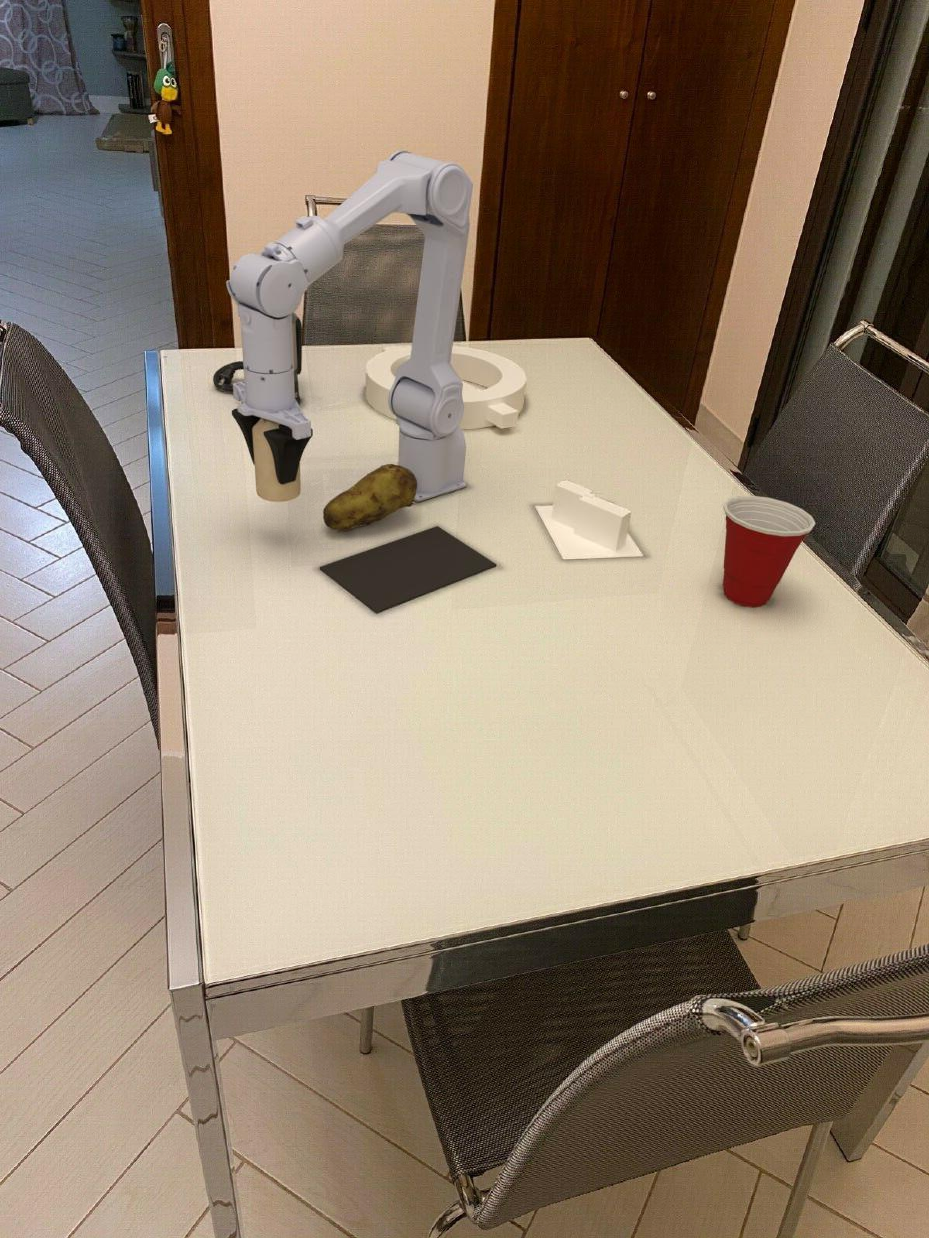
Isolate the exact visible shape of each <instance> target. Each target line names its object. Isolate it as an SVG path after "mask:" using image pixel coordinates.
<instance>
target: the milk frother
mask: <svg viewBox="0 0 929 1238" xmlns="http://www.w3.org/2000/svg"><path fill="white" fill-rule="evenodd" d="M292 332H293V360H294V389H295V399H296V401H297V403H298V404H299V405H301V402H302V401H301V396H300V390H299V389H300V387H299V375H301V373H302V370H303V369H302V367H303V365H302V364H303V323H302V321H301V319H300V317H299V316H298V315H297V313H296V312H293V313H292ZM240 370H241V371H242V370H243V371H244V365H243V360H239V361H234V362H230V363H228V364H227V363H226V364H224V365H223V366H222V367H220V368H218V369H217V370H216V371H215V372H214V374H213V376H212V382H213V385H214V386H215V388H217V389H219V390H221V391H224V392H228V393H233V384H232V382H233V381H232V380H233V379H234V375H235V374H236V371H240Z"/></svg>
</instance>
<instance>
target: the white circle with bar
mask: <svg viewBox="0 0 929 1238" xmlns="http://www.w3.org/2000/svg"><path fill="white" fill-rule="evenodd" d="M411 349H412V345H406V346H405V345H404V346H399V345H397V344H396V345H391V346H385V347H384V346H383V347H381V352H379V353H378V354H376V355H374V356H373V357H371V358H370V359H369V360H368V361H367V363H366V365H365V399H366V402H367V403H368V404H369V406H371V407H372V409H374V410H375V411H376V412H378V413H379V414H382V415H383V416H386V417H388V418H390V419H393V420H395V421H396V416H395V415H394V414H393V413H392V412H391V411H390V409H389V405H388V397H389V392H390V389H391V387H392V385H393V383H394V381H395V377H396V370H397V367H398V366H399V365H401V364H402V363H404V362H405V361H407V360H408V359H410V357H411ZM450 363H451V365H452V367H453V368H454V370H455V372H456V373H457V375H458V376H459V378H460V379H461V381H462V383H463V388H462V399H463V403H464V412H463V417H462V420H461V422H460V424H459V427H460V428H461V430H473V429H481V428H482V429H483V428H490V427H493V426H496V427H497V428H499V429H507V428H509V427H510V428H511V427H515V426H518V420H519V414H520V413H521V412H522V410H523V408H524V403H525V396H526V395H525V394H526V383H527V374H526V372H525V370H524V369H523V368H522V367H521V366H519V365H518V364H517V363H516V362H514V361H512V360H511V359H509V358H506V357H504V356H502V355H499V354H497V353H493V352H490V351H486V350H483V349H478V348H475V347H474V348H473V347H468V346H460V345H453V347H452V354H451V361H450ZM467 382H470V383H474V384H477V385H480V386H483V387H484V389H483V388H482V389H478V388H476V387H475V386H474V385H471V384H469V383H467Z"/></svg>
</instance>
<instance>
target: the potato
mask: <svg viewBox="0 0 929 1238" xmlns="http://www.w3.org/2000/svg"><path fill="white" fill-rule="evenodd" d="M416 490H417V480H416V477H415V476H414V474H413V473H412V472H411V471H410V470H409V469H407V468H404V467H402V466H400V465H398V464H394V463H387V464H383V465H380V466H379V467H377V468H376V469H374V470H372V471H370V472H369V473H367V474H366V475H365V476H363V477H362V478H360V480H358V481H357V482H355V484H353V485H352V486H350V488H348V489H347V490H344V491H342V492H341V493H338V495H336V496H335V497H333V498H332V499H331V500H329V501H328V502H327V504H326V505H325V506H324V508H323V510H322V518H323V522H324V525H325V526H326V527H327V528H329V529H330V530H333V531H336V532H346V531H350V530H352V529H353V528H358V527H363V526H369V525H371V524H373V523H376V522H378V521H379V522H380V521H381V520H383V519H385V518H386V517H388V516H390V515H392V514H393V513H395V512H397V511H399V510H401V509H404V508H411V507H412V506H413V505H414V504H415V503H414V500H413V499H414V498H415V495H416Z"/></svg>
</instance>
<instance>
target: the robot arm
mask: <svg viewBox="0 0 929 1238" xmlns="http://www.w3.org/2000/svg"><path fill="white" fill-rule="evenodd" d="M473 188H474V183H473V181H472V180H471V178H470V177H469V176H468V174H467V172H466V171H465V169H464V168H463V167H462V166H461V165H460V164H459V163H457V162H454V161H444V160H440V159H436V158H432V157H428V156H424V155H419V154H415V153H412V152H411V151H408V150H404V149H403V150H402V149H400V150H397V151H394V152H393V153H391V154H390V155H389V156H388V158H387V159H384V160H381V161H380V162H378V163H377V166H376V169H375V174H374V175H373V176H372V177H370V178H369V179H368V180H367V181H365V183H363V185H361V186H360V187H359V188H358V189H357V190H356V191H355V192H353V193H352V194H351V195H350V196H349V197H347V198H346V200H344V201H343V202H341V204H339V206H338V207H336V208H334V210H333V211H331V213H329V214H328V215H327V216H326V217H325V218H323V217H321V216H318V215H309V216H308V217H307V216H305V215H302V216H300V217H298V219H296V220H295V226H294V227H293V228H291V230H289V231H288V232H286V233H285V234H284V235H282V236H281V237H280V238H278V239H277V240H276V241H274V242H273V241H270V242H269V243H267V244H265V246H264V249H263V250H262V251H261V253H258V252H254V253H252V252H249V253H246V254H244V255H243V256H241V257H240V258H238V260H237V261H236V262H235V264H234V265H233V267H232V268H231V272H230V277H229V280H226V281H225V285H226V289H227V292H228V295H229V296H230V298H231V299H232V300H233V301H234V302H235V304H236V307H237V316H238V317H239V320H240V335H241V337H240V338H241V349H242V350H241V351H242V361H243V365H244V370H243V379H244V380H243V381H239V382H233V383H232V385H233V392H232V393H233V399H234V400H236V401H238V402H241V404H238V405H237V406H236V408H234V409H233V408H232V410H231V416H232V417H233V419H234V420H235V422H236V423H237V425H238V428H239V429H240V431H241V433H242V435H243V439H244V440H245V444H246V447H247V450H248V453H249V455H250V459H251V462H252V464H253V465H254V466H255V463H254V447H253V431H252V429H253V427H254V425H255V424H256V423H257V422H258V421H259V420H260V419H261V418H264V419H267V420H270V421H273V422H276V423H279V429H278V428H277V429H272V430H268V431H264V432H263V434H264V436H265V438H266V440H267V442H268V444H269V446H270V448H271V451H272V455H273V459H274V465H275V471H276V476H277V480H278V482H279V483H280V484H282V485H283V484H286V483H290V482H293V481H295V480H296V476H297V472H298V468H299V464H300V465H301V460H302V456H303V454H304V452H305V449H306V447H307V445H308V443H309V442H310V441H311V439H312V437H313V436H314V429H313V428H312V421H311V420H310V419H309V418H308V417H306V415H305V413H304V411H303V410H302V408H301V406H300V404H298V403H297V401H296V399H295V389H294V360H293V332H292V313H293V312H294V313H296V311H297V310H298V308H299V306H300V304H301V302H302V300H303V296H304V294H305V292H306V291H308V289H309V287H310V285H312V284H313V283H314V282H316V281H317V280H319V279H320V278H321V277H322V276H323V275H324V274H326V273H327V272H328V271H330V270H331V269H332V268H334V267H335V266H336V265H337V264H339V263H340V262H341V261H342V259H343V256H344V249H345V245H346V244H348V243H349V242H351V241H352V240H354V239H355V238H357V237H358V236H360V235H361V234H362V233H364V232H367V230H369V229H370V228H372V227H374V226H375V225H377V224H378V223H380V222H381V221H382V220H384V219H386V218H388V217H389V216H390V215H392V214H394V213H396V214H397V213H398V214H405V215H407V216H408V217H410V219H411V220H412V222H413V223H414V224H415V225H416V226H417V228H418V230H419V231H420V232H421V233H422V235H423V236H424V243H423V252H422V253H423V254H422V260H421V268H420V275H419V276H420V277H419V284H418V291H417V301H416V302H417V303H416V308H415V315H414V326H413V332H412V333H413V334H412V341H411V346H412V349H411V357H410V359H408V360H407V361H405V362H404V363H402V364H401V365H399V366H398V367H397V370H396V377H395V381H394V383H393V385H392V387H391V389H390V392H389V397H388V405H389V409H390V411H391V412H392V413H393V414H394V415H395V416H396V420H395V424H396V425H397V426H398V428H399V430H398V454H397V455H398V456H397V457H398V459H397V465H400V466H402V467H404V468H407V469H409V470H410V471H411V472H412V473H413V474H414V476H415V477H416V480H417V490H416V495H415V498H414V499H413V501H415V502H417V503H419V502H422V501H425V500H428V499H432V498H435V497H438V496H440V495H444V494H447V493H450V492H453V491H456V490H460V489H462V488H466V487H467V486H468V483H467V482H466V481H465V480H464V479H465V466H466V465H465V463H466V454H467V453H466V452H467V442H466V437H465V434H464V432H463V429H461V428H460V427H459V424H460V422H461V420H462V417H463V412H464V403H463V399H462V388H463V383H462V381H463V380H462V381H461V379H460V378H459V376H458V375H457V373H456V372H455V370H454V368H453V367H452V365H451V363H450V361H451V354H452V347H453V346H454V340H455V339H454V338H455V333H456V325H457V319H458V313H459V303H460V297H461V291H462V283H463V276H464V270H465V263H466V256H467V249H468V241H469V235H470V226H471V225H470V210H471V202H472V195H473Z"/></svg>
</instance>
